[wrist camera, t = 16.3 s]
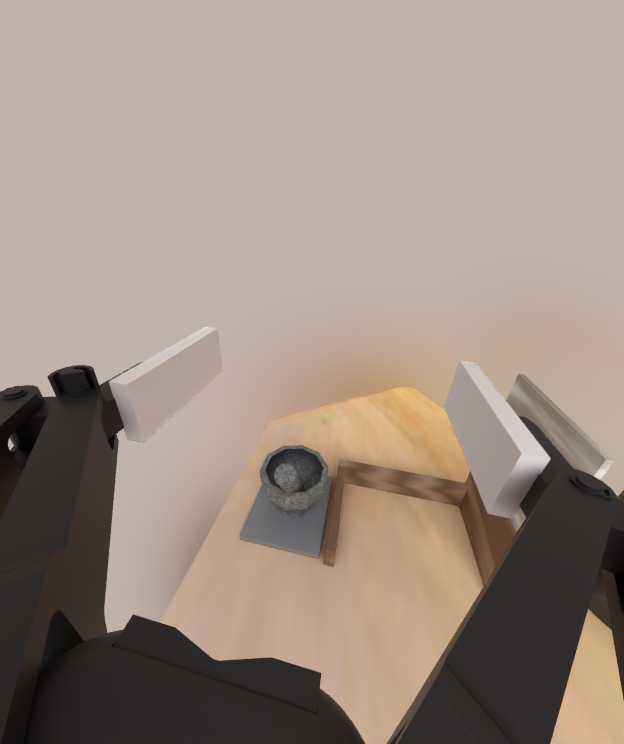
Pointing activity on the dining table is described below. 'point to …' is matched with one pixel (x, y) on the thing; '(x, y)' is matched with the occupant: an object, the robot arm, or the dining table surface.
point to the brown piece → (482, 528)
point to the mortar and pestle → (293, 479)
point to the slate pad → (287, 526)
